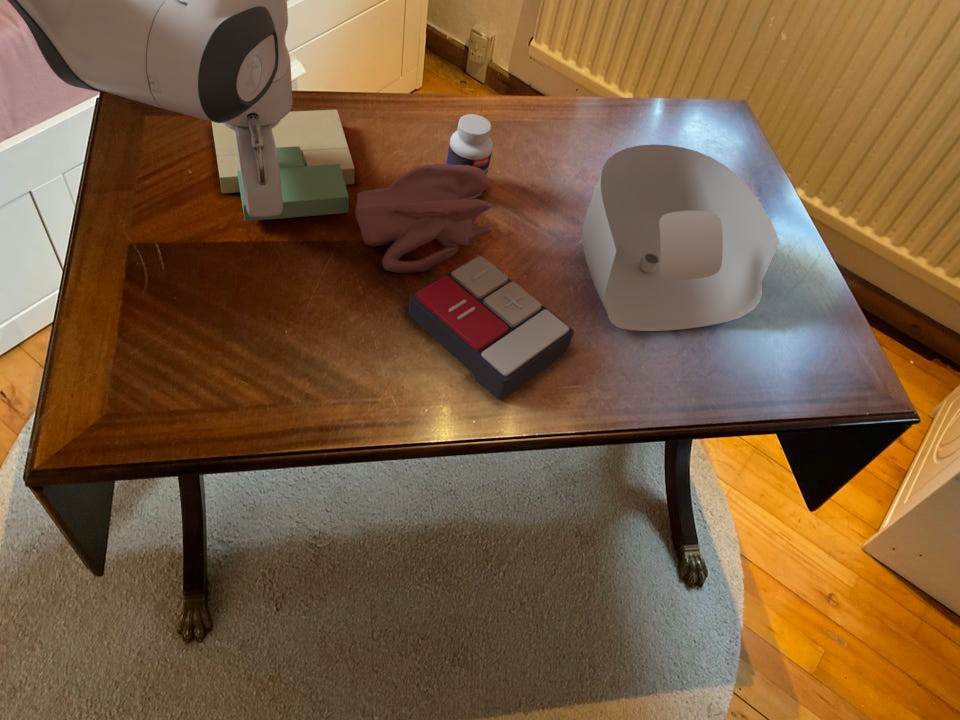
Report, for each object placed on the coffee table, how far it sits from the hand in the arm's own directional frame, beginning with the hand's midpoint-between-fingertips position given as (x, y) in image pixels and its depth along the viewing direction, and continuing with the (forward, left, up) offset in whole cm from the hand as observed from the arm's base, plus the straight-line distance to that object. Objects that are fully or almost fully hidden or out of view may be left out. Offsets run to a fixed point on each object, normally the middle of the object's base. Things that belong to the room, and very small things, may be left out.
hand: (258, 191), depth 86 cm
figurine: (+18, -8, -3) cm, 20 cm away
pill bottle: (+26, +1, -3) cm, 26 cm away
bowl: (+45, -17, -3) cm, 48 cm away
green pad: (+4, +2, -2) cm, 5 cm away
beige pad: (+4, +9, -3) cm, 11 cm away
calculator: (+22, -23, -3) cm, 32 cm away
